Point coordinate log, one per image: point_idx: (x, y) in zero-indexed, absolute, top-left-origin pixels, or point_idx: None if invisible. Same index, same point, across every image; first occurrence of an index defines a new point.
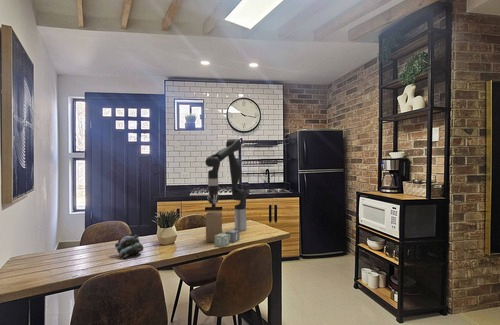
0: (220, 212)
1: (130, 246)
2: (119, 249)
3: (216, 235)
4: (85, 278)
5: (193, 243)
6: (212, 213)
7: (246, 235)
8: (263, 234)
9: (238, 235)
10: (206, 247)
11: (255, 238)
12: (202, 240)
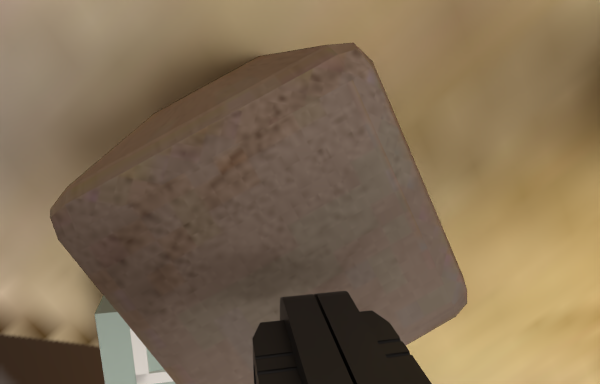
0: (412, 336)
1: None
2: None
3: (106, 331)
4: None
5: (32, 25)
6: (201, 312)
7: (506, 268)
8: (571, 348)
9: None
10: (26, 242)
11: (454, 371)
12: (181, 30)
